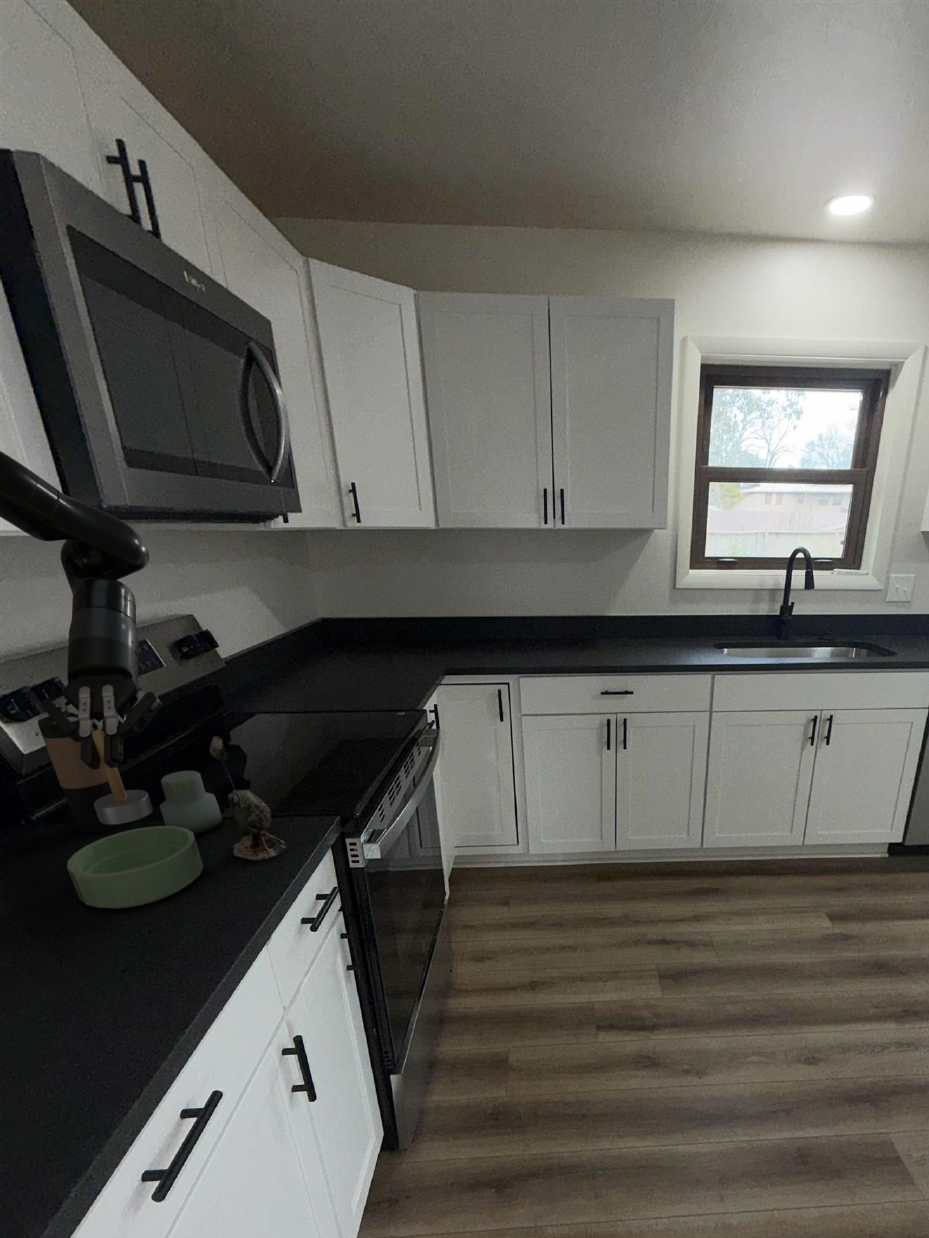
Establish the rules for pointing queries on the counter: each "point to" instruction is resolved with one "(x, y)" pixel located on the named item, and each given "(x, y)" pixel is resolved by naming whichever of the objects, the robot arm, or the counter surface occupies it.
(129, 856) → the bowl
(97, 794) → the travel mug
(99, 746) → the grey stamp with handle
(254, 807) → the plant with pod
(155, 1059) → the counter surface
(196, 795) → the air freshener
